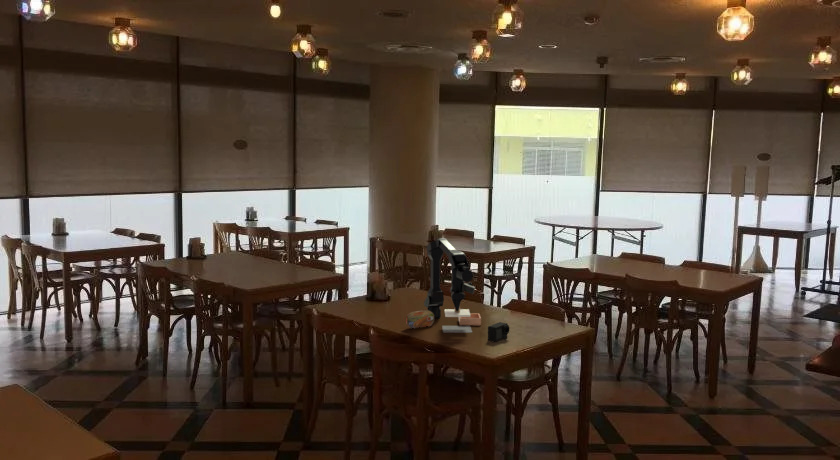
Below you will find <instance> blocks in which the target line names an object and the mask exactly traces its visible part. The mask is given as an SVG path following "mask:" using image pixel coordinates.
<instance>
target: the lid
mask: <svg viewBox="0 0 840 460" xmlns="http://www.w3.org/2000/svg"><path fill="white" fill-rule="evenodd" d="M470 313H471V312H470V309H469V308H467V309H464V308H461V306H460V307H459V311H456V309H455V308H454V309H453V308H452V309H451V308H450V309H449V308H447V309H446V308H445V309H444V317H445V318H459V317H470Z"/></svg>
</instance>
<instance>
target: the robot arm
mask: <svg viewBox="0 0 840 460" xmlns="http://www.w3.org/2000/svg"><path fill="white" fill-rule="evenodd" d="M426 252H427V256H428V258H429V259H430V287H429V289H428V290H427V294H426V298H425V299H424V301H423V305H424V307H426V308H427V310H428V311H431V312H432V313H433V314H434V317H435V319H434V320H436V319H437V320H440V319H441V316H442V313H441V310H442V309H441V307H443V306H444V302H445V301H444V300H445V296H444V295H445V293H444V290H442V289H441V259H442V258H443V255H444V253H445V255H446V256H447V257H448V262H449V263H450V267H449V268H450V269H451V281H450V282H451V287H449V288H450V290H449V293H451V294H450V296H451V301H452V303H453V307H454V309H456V311H459V307H460V308H461V302H462V301H463V300H465V299H466V296H465V295H466V294H465V292H466V293H469V294H470V295H474V292H475V290H476V286H474V285H473V283H472V282H471V281H472V279H473V276H474V275H473V272H472V271H471V270H470V265H469V264H470V263H469V261H468V258H467V255H466V254H465V253H464V252H463V251H461V250H459V249H456V248H455V247H454V246H453V245H452V244H451V243H450V242H449V241H448V239H447V238H444V237H443V238H441V237H440V238H437V239H436V240H433V241H431V242H429V243H428V244H427V245H426Z"/></svg>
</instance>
